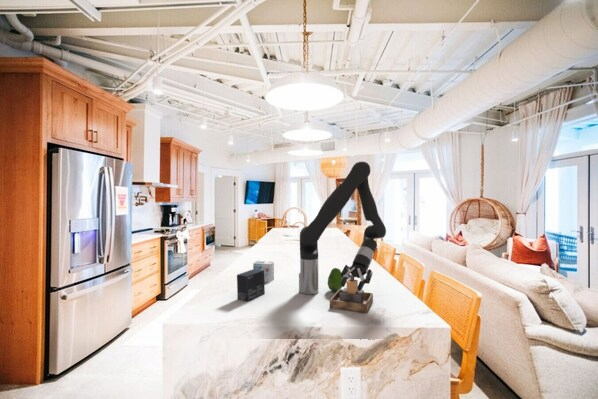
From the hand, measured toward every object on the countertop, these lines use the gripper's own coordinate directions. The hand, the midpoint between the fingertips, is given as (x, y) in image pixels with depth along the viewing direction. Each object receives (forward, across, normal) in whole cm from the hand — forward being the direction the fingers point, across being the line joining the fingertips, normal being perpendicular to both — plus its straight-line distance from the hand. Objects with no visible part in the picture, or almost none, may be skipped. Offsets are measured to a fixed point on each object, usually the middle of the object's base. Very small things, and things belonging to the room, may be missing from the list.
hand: (350, 287), depth 131 cm
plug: (+4, 0, +6) cm, 7 cm away
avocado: (-2, -16, +14) cm, 21 cm away
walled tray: (+4, 0, +6) cm, 8 cm away
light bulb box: (+6, -59, +5) cm, 59 cm away
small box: (+22, -42, -10) cm, 49 cm away
